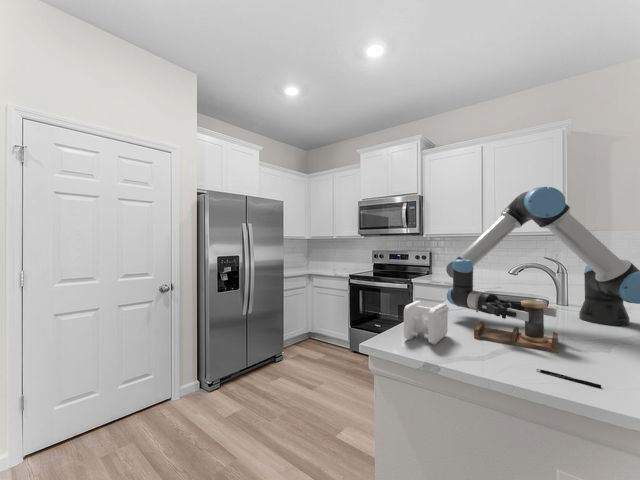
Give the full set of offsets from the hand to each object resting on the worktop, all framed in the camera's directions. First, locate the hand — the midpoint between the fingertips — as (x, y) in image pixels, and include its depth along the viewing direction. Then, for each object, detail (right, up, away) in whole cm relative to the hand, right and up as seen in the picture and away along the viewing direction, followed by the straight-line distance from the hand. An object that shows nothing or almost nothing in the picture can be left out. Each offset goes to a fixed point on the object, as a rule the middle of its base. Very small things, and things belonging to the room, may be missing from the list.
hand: (542, 314), depth 96 cm
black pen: (-11, -10, -23) cm, 27 cm away
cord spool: (-1, -9, +2) cm, 9 cm away
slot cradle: (-5, -10, +6) cm, 12 cm away
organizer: (-34, -10, +8) cm, 36 cm away
